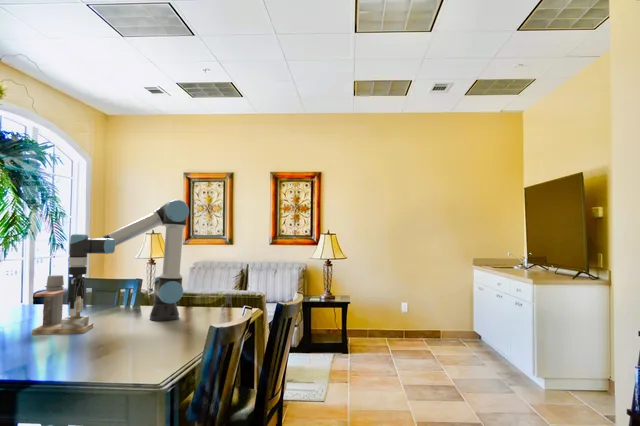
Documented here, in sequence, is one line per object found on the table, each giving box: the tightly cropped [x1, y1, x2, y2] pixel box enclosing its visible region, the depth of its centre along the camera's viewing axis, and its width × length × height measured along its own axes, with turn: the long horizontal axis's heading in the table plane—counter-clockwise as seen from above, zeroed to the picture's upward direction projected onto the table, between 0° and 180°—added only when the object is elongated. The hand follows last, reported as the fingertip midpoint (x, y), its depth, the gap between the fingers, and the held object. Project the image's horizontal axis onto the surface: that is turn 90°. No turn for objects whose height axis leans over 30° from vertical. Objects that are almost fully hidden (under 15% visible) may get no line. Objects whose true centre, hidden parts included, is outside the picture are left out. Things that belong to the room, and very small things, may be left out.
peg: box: [70, 296, 81, 319], centre depth 204 cm, size 4×4×14 cm
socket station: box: [31, 289, 94, 336], centre depth 204 cm, size 22×13×18 cm, turn 102°
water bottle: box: [42, 274, 65, 324], centre depth 213 cm, size 9×8×25 cm
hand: (75, 313), depth 204 cm, fingers open, 8 cm apart
